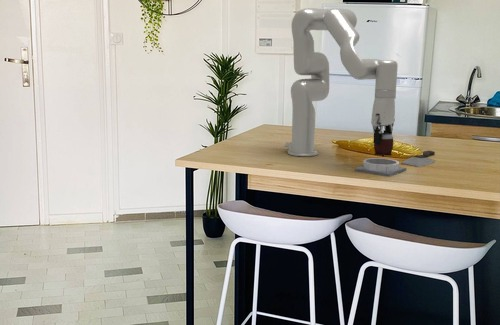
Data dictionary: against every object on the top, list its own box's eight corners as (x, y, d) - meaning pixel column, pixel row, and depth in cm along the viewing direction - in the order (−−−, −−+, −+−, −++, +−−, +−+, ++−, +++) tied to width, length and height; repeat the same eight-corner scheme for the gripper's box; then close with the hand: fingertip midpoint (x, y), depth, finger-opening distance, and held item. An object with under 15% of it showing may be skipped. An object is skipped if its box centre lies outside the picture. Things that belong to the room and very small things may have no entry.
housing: (354, 170, 224) (355, 161, 223) (372, 165, 235) (373, 156, 234) (389, 176, 215) (389, 167, 215) (406, 170, 226) (406, 161, 225)
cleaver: (422, 154, 261) (422, 149, 260) (445, 156, 256) (445, 151, 255) (399, 166, 237) (399, 161, 236) (423, 169, 232) (424, 164, 231)
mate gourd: (392, 157, 219) (395, 116, 216) (370, 156, 221) (372, 115, 218) (392, 153, 226) (394, 114, 223) (371, 152, 228) (373, 113, 225)
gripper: (386, 92, 228) (383, 138, 232) (364, 95, 215) (362, 144, 218) (405, 93, 223) (402, 140, 227) (383, 96, 210) (380, 146, 214)
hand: (382, 142), depth 223 cm, fingers closed on mate gourd, 7 cm apart
